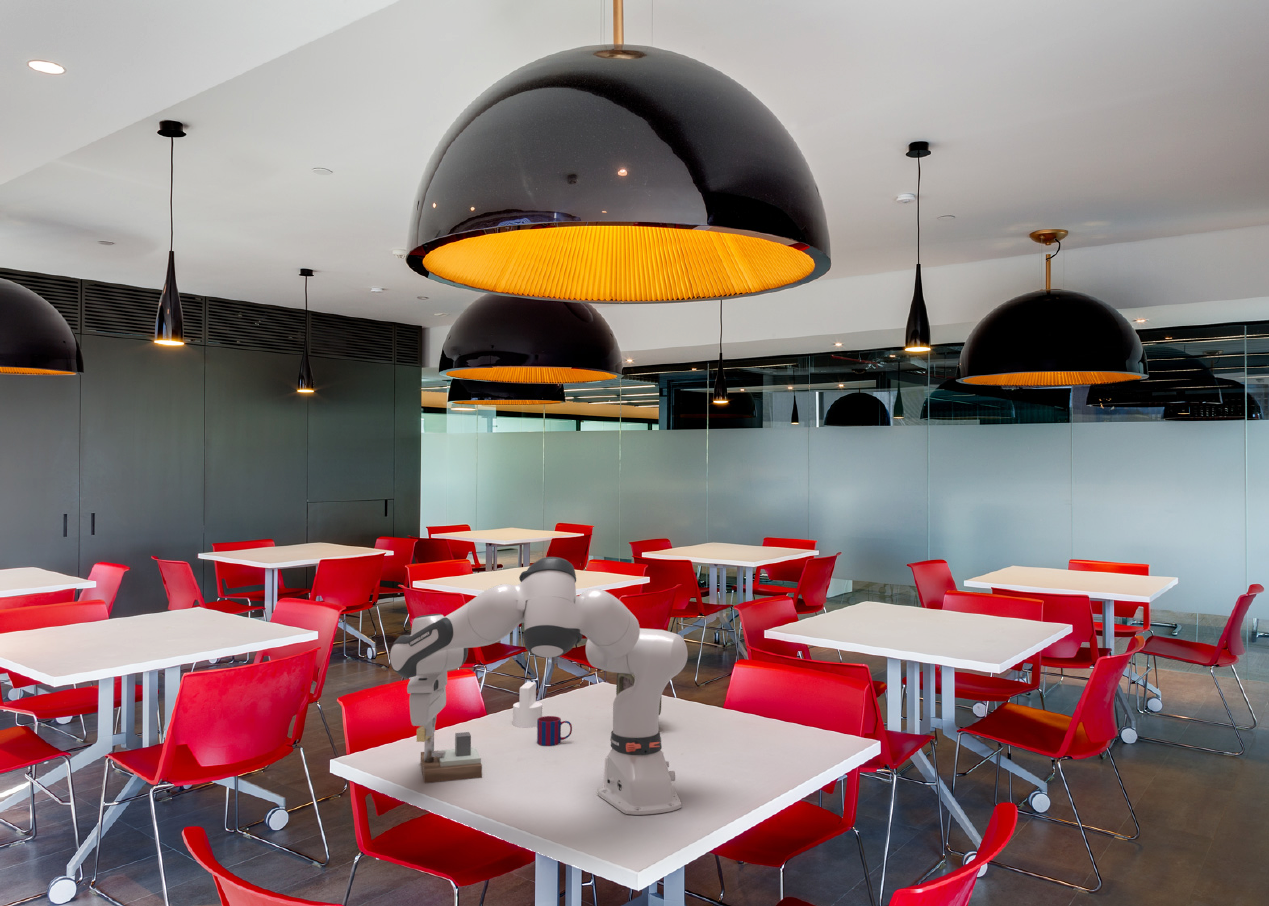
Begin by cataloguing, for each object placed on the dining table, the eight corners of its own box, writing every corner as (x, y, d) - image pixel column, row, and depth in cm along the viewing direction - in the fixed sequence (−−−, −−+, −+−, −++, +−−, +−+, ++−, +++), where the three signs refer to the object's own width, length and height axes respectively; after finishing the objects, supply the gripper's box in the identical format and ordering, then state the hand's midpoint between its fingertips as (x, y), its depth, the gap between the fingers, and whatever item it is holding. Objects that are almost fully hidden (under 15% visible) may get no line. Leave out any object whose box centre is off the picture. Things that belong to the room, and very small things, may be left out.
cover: (480, 763, 216) (481, 738, 216) (440, 766, 213) (441, 741, 213) (475, 751, 225) (476, 728, 226) (437, 755, 222) (437, 731, 223)
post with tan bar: (435, 769, 210) (436, 729, 210) (415, 769, 210) (415, 729, 210) (445, 759, 218) (446, 721, 218) (425, 758, 218) (426, 720, 219)
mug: (541, 738, 248) (541, 715, 249) (574, 741, 246) (574, 717, 247) (534, 745, 242) (534, 721, 242) (567, 747, 240) (568, 723, 240)
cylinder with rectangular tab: (517, 719, 269) (517, 681, 270) (545, 720, 268) (545, 682, 269) (509, 727, 261) (509, 687, 261) (537, 728, 259) (538, 688, 260)
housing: (481, 777, 214) (481, 765, 214) (424, 783, 210) (424, 770, 210) (473, 758, 229) (473, 747, 229) (420, 763, 225) (420, 752, 225)
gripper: (427, 670, 223) (428, 723, 223) (404, 688, 203) (405, 746, 202) (451, 669, 223) (452, 723, 223) (430, 687, 203) (431, 746, 202)
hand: (429, 734), depth 212 cm, fingers closed, pressing on post with tan bar
